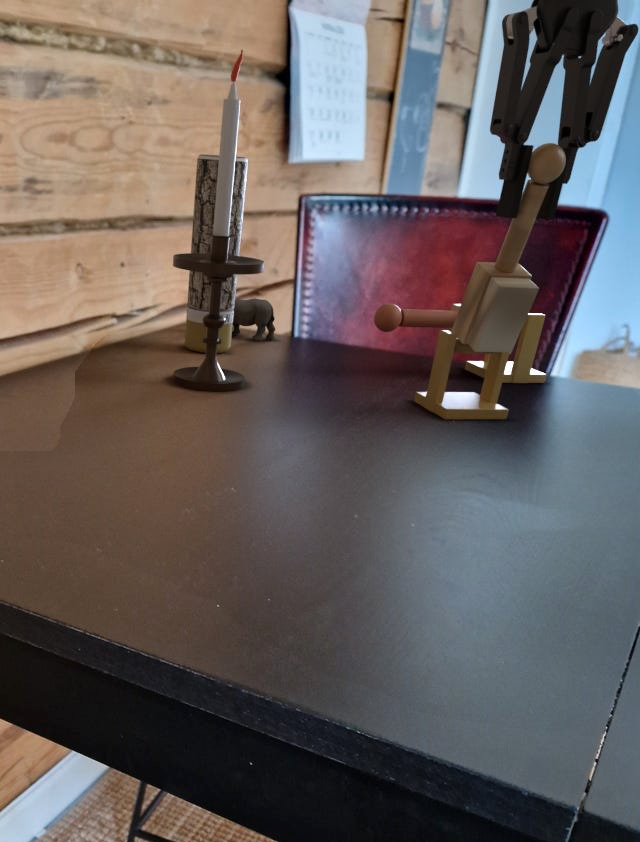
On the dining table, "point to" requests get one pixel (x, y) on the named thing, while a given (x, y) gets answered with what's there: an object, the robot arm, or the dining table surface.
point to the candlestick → (218, 258)
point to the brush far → (414, 318)
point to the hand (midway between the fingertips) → (524, 217)
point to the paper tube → (202, 244)
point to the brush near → (507, 271)
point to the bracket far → (519, 355)
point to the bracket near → (463, 402)
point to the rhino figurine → (254, 317)
